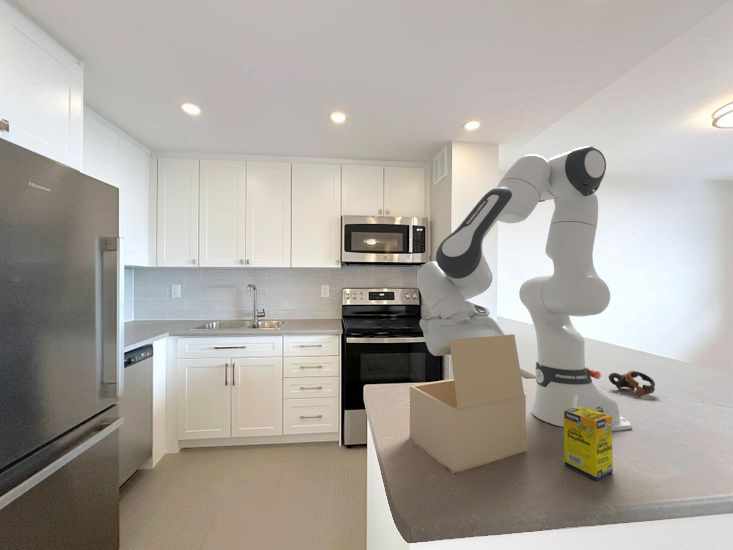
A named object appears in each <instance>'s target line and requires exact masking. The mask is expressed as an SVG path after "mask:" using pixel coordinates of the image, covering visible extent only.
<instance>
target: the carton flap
mask: <svg viewBox="0 0 733 550" xmlns="http://www.w3.org/2000/svg"><path fill="white" fill-rule="evenodd" d="M449 341H450V350H451V355H450V356H451V366H452V373H453V379H454V383H455V391H456V400H457V408H458V409H462V408H467V407H472V406H477V405H482V404H487V403H492V402H496V401H501V400H506V399H511V398H516V397H521V396H524V394H525V392H524V385H523V379H522V373H521V368H520V367H521V366H520V359H519V353H518V347H517V343H516V342H517V341H516V336H515V334H514V333H513V334H505V335H499V336H487V337H474V338H461V339H449Z"/></svg>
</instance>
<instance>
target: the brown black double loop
mask: <svg viewBox="0 0 733 550" xmlns="http://www.w3.org/2000/svg"><path fill="white" fill-rule="evenodd" d="M637 377H640V378H641V380H642V381H646V382H649V384H650V385H646V384H643V385H642V386H640V382H638V381H637V380H635V378H637ZM608 379H609V382H610V383H611V384H612V385H613V386H615V387H616V389H618V390H620V389H622V388H627V389H631V390H635V389H636V390H635V392H634V395H635V397H637V398H642V396H646V395H650V394H653V393H654V392H655V390H656V388H655V386H656V382H655V381H654V380H653V378H651V377H650V376H649V375H647V374H645V373H643V372H640V371H636V370H631V371H628V372H626V373H624V374H620V373H617V372H612V373H610V374H609V375H608ZM615 379H616V380H615Z"/></svg>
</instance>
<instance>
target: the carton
mask: <svg viewBox="0 0 733 550" xmlns="http://www.w3.org/2000/svg"><path fill="white" fill-rule="evenodd" d="M526 395H527V394H525V393H524V396H521V397H516V398H511V399H506V400H501V401H496V402H492V403H487V404H482V405H477V406H472V407H467V408H462V409H458V408H457V400H456V391H455V383H454V378H450V379H444V380H438V381H430V382H423V383H416V384H412V385H410V386H409V440H411V441H412V442H413V443H415V444H416V445H417V446H419V447H420V448H421V449H422V450H423V451H425V452H426V453H427V454H428V455H430V456H431V457H432V458H434V460H436V461H437V462H438V463H439V464H441V465H442V466H443V467H444V468H445V467H446V468H445V469H447V470H448V471H449V472H450V471H451V472H450V473H452V475H456V474H459V473H461V472H464V471H469V470H472V469H474V468H477V467H481V466H483V465H487V464H490V463H493V462H496V461H500V460H503V459H506V458H509V457H512V456H516V455H518V454H522V453H524V452H527V416H526V415H527V413H526V412H527V409H526V407H527V405H526V404H527V403H526V402H527V401H526V399H527V398H526ZM455 473H456V474H455Z"/></svg>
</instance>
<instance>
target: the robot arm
mask: <svg viewBox="0 0 733 550" xmlns="http://www.w3.org/2000/svg"><path fill="white" fill-rule="evenodd" d="M606 171H607V161H606V158H605V156H604V154H603V153H602V152H601V150H599V149H598V148H596V147H594V146H582V147H577V148H574V149H572V150H571V151H568V152H564V153H562V154H559V155H556V156H554V157H551V158H549V159H546V158H545V157H543V156H541V155H539V154H527V155H523V156H521V157H519V158H518V159H517V160H516V161H515V162H514V163H513V165H512V166H511V167H510V168H509V169H508V170H507V171H506V172H505V174H504V175H503V177H502V178H501V179H500V181H499V183H498V184H497V186H496V187H495V188H493V189H491V190H488V192H486V193H485V194H484V196H482V198H481V199H480V200H479V201H478V202H477V203H476V204H475V206H474V207H473V208H472V210H470V212H469V214H467V216H466V217H465V218H464V220H463V221H462V222H461V224H460V225H459V226H458V227H457V228H456V229H454V231H453V232H452V233H450V234H449V235H448V236H447V237H446V238H444V240H442V241H441V242H440V244H439V245H438V247H437V250H436V252H435V253H436V254H435V261H433V260H432V261H428V262H426V263H424V264H423V265H422V266H421V267H420V268H419V270H418V271H417V274H416V283H417V287H418V290H419V293H420V294H421V297H422V299H423V301H424V303H425V304H426V305H427V306H428V307H429V309H430V310H429V311H430V314H431V316H423V317H422V318H421V319H420V320H419V322H418V323H419V326H420V329H421V331H422V332H423V333H422V334H423V337H424V338H423V339H424V341H425V345H426V346H427V350H428V352H429V353H430V354H431V355H433V356H434V357H436V356H437V357H438V356H439V357H440V356H448V355H449V356H451V350H450V341H449V339H461V338H474V337H487V336H499V335H506V334H505V333H504V331H503V329H502V328H501V327H500V326H499V324H498V322H497V321H496V320H495V319H494V318H493V317H492V316H489V315H490V311H489V309H488V308H487V307H485V306H482V305H480V304H479V305H478V304H475V303H473V302H471V301H469V299H472V298H474V297H477V296H478V295H481V294H483V293H484V292H486V291H487V290H488V289H489V288H490V286H491V285H492V282H493V273H492V270H491V268H490V266H489V264H488V262H487V260H486V258H485V255H484V252H483V243H484V240H485V238H486V236H487V235H488V234H489V232H490V231H491V229H492V228H493V227H494V225H495V224H496V223H497V222H502V223H506V224H517V223H520V222H524V221H526V219H528V218H529V216H530V215H531V214H532V213H533V211H534V210H535V208H536V207H537V205H538V203H541V202H542V203H543V202H545V201H549V200H553V202H554V210H553V213H552V217H551V220H550V225H549V229H548V230H549V231H548V235H547V239H546V243H545V254H546V256H547V257H548V258H549V259H550V260H552V263H553V274H552V275H551V274H550V275H538V276H535V277H533V278H529V279H527V280H525V281H524V282H523V283H522V284H521V286H520V288H519V291H518V293H519V299H520V301H521V303H522V305H523V306H525V308H526V309H527V310H528V313H529V315H530V317H531V320H532V323H533V326H534V330H535V335H536V346H537V347H536V349H537V350H536V352H537V353H536V354H537V361H536V362H535V379H536V380H535V381H536V391H535V397H534V401H533V404H532V409H531V414H532V415H533V416H534V417H536V418H538V419H539V420H541V421H544V422H546V423H549V424H551V425H554V426H558V427H561V428H564V410H568V409H572V408H576V407H578V406H583V407H587V408H590V409H592V410H595V411H599V412H602V413H605V414H608V415H611V416H612V432H615V431H623V430H631V429H632V427H633V426H632V424H631V422H630V421H629V420H628V419H626V418H625V417H623V416H622V415H620V410H619V406H618V402H616V400H615V399H614V398H613V397H612V396H611V395H610V394H609V393H607V392H606V391H604V390H603V389H602V388H601V387H599V386H598V385H597V384H595V383H594V382H593V379H592V378H594V379H595V380H600V379H601V378H602V373H601V372H600V371H598V370H595V369H589V368H587V367H586V359H585V358H586V356H585V353H586V351H585V350H586V349H585V340H584V337H583V335H582V334H581V333H580V332H579V331H577V330H576V328H575V326H574V325H573V323H572V321H571V318H570V317H589V316H595V315H599V314H601V313H603V312H605V310H606V309H607V307H608V306H609V305H610V302H611V292H610V291H611V290H610V288H609V286H608V284H607V283H606V281H604V280H603V279H602V278H601V277H600V276H599V275H598V273H597V271H596V269H595V266H594V259H593V251H594V244H595V238H596V233H597V228H598V219H599V199H598V196H597V194H596V192H597V191H598V190H599V187H600V185H601V183H602V181H603V179H604V177H605V173H606Z"/></svg>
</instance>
